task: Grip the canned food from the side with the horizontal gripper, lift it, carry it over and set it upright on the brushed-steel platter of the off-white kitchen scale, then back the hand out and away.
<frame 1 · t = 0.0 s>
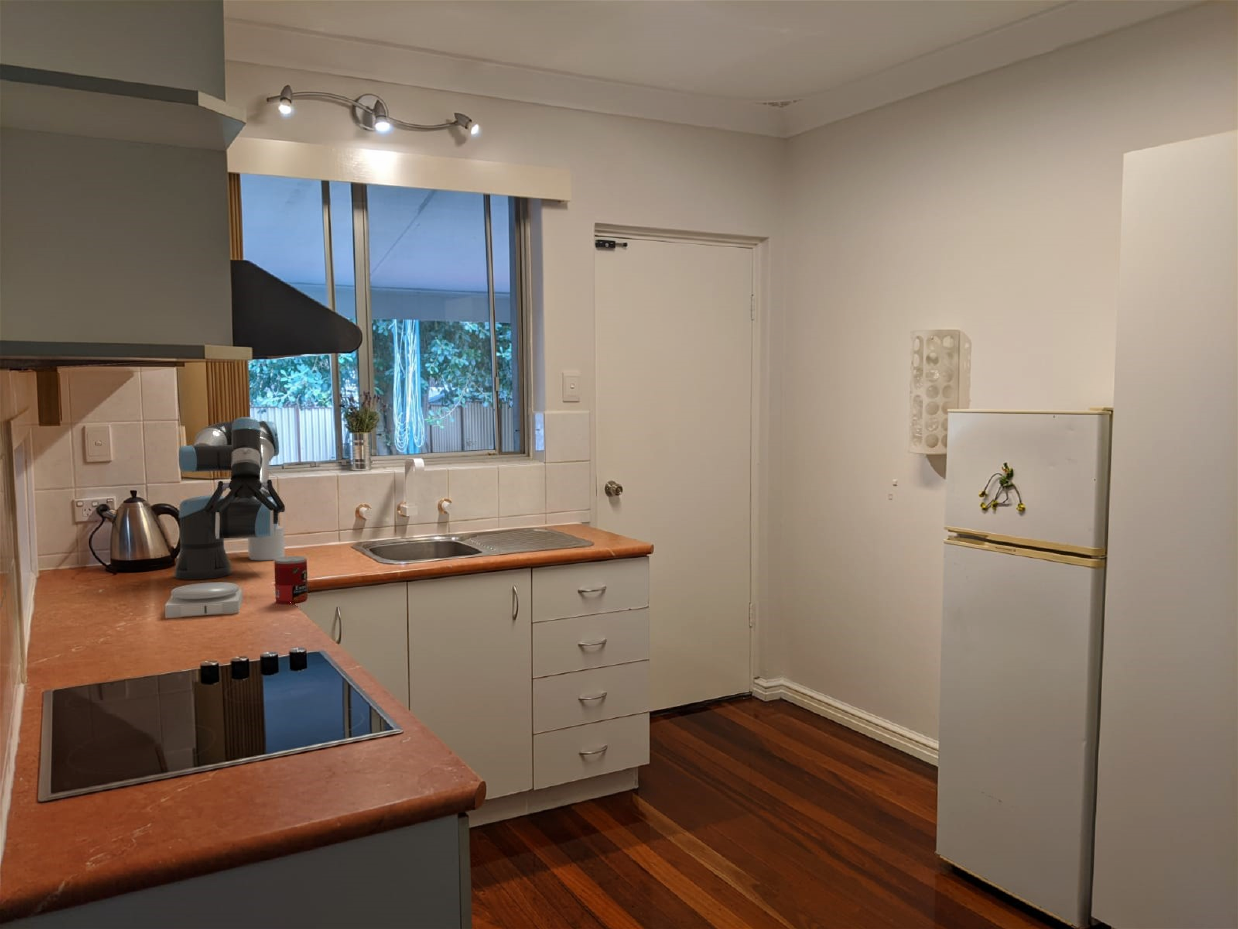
hand: (244, 535, 247), 15 cm above the counter, tool tilted 35°, fingers open, 13 cm apart
toilet tissue: (265, 558, 301), on the counter
canned food: (291, 602, 237), on the counter
kitchen scale: (205, 608, 228), on the counter
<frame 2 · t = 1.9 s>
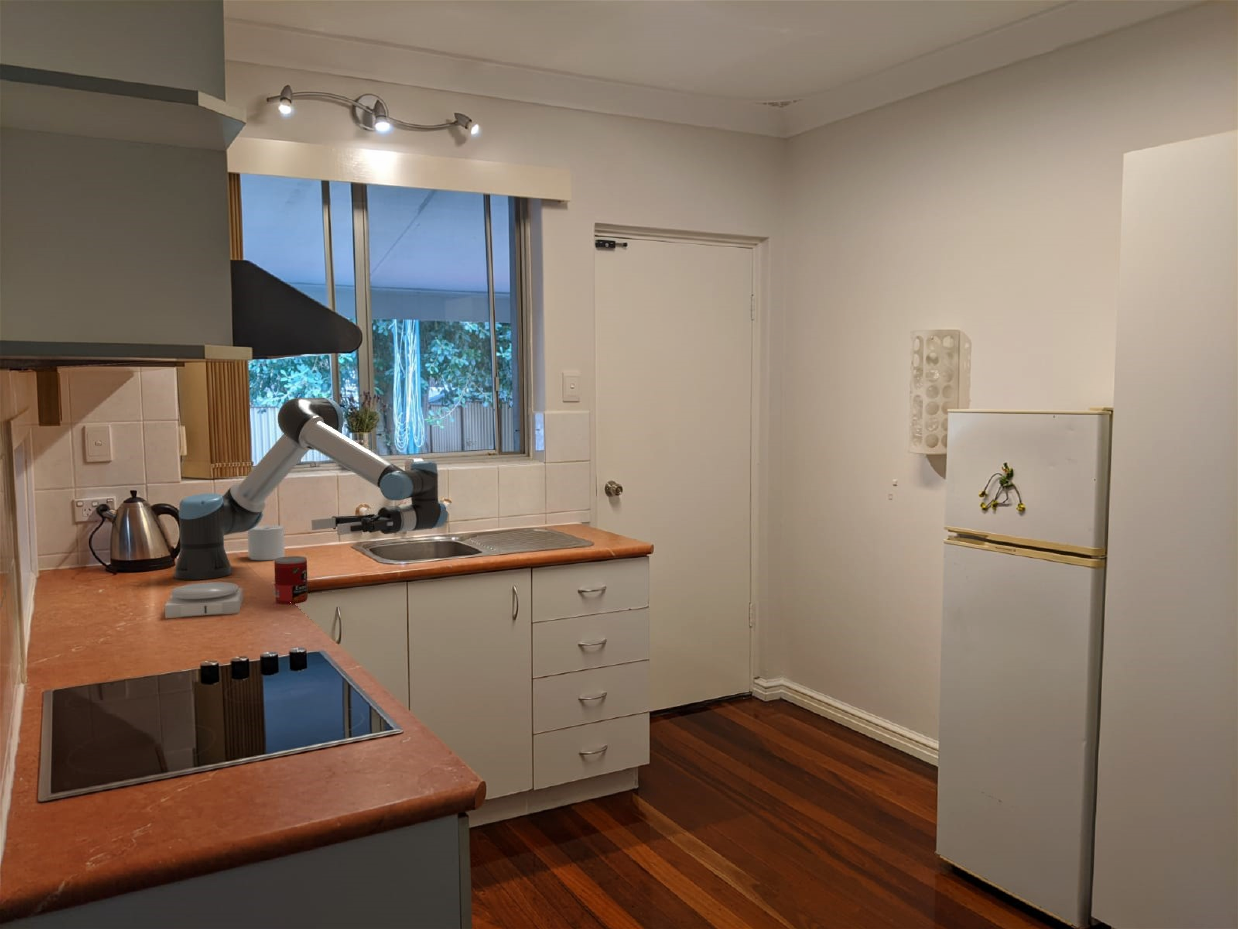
hand: (324, 527, 242), 18 cm above the counter, tool horizontal, fingers open, 13 cm apart
nothing on the counter moved.
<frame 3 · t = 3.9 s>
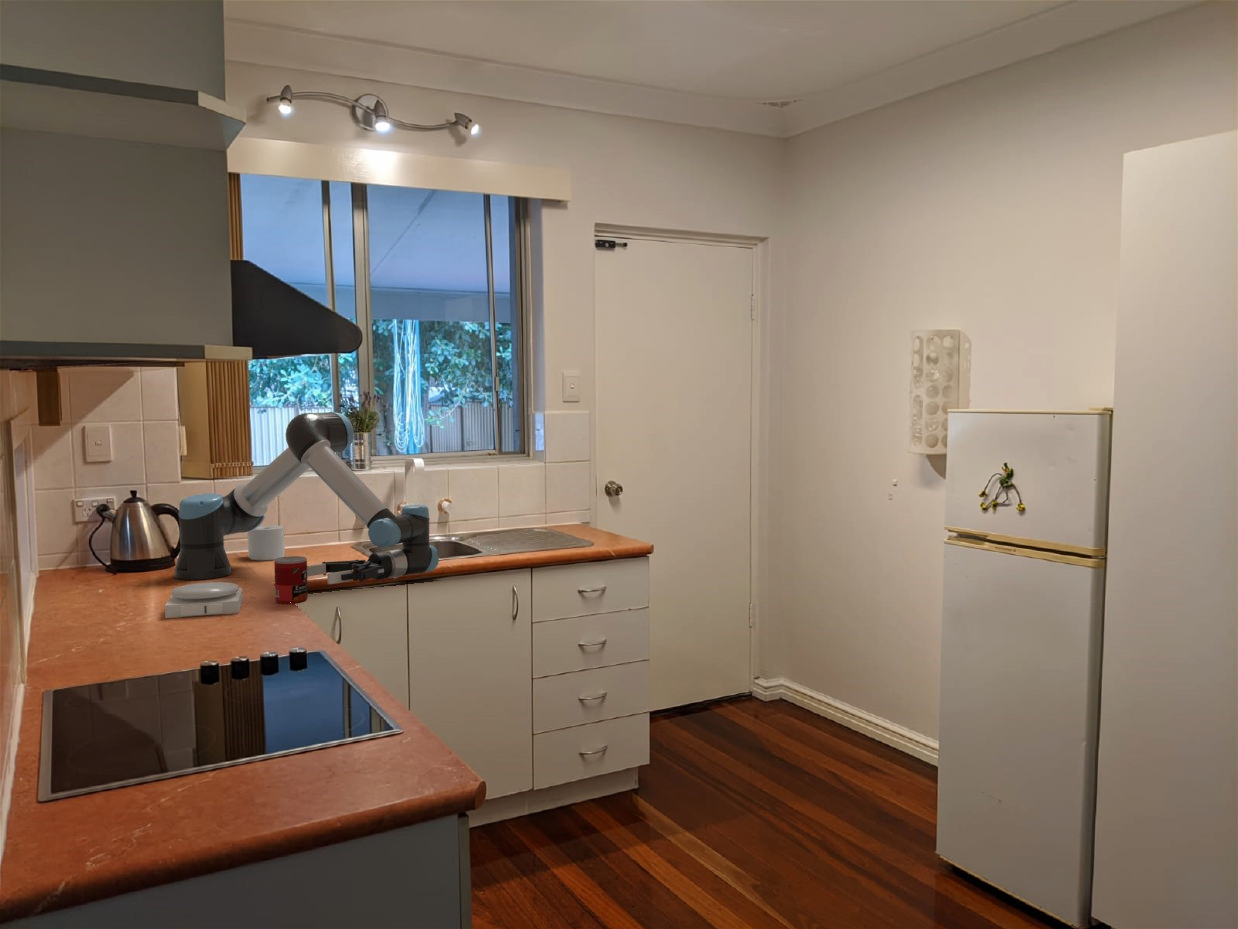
hand: (314, 575, 240), 6 cm above the counter, tool horizontal, fingers open, 13 cm apart
nothing on the counter moved.
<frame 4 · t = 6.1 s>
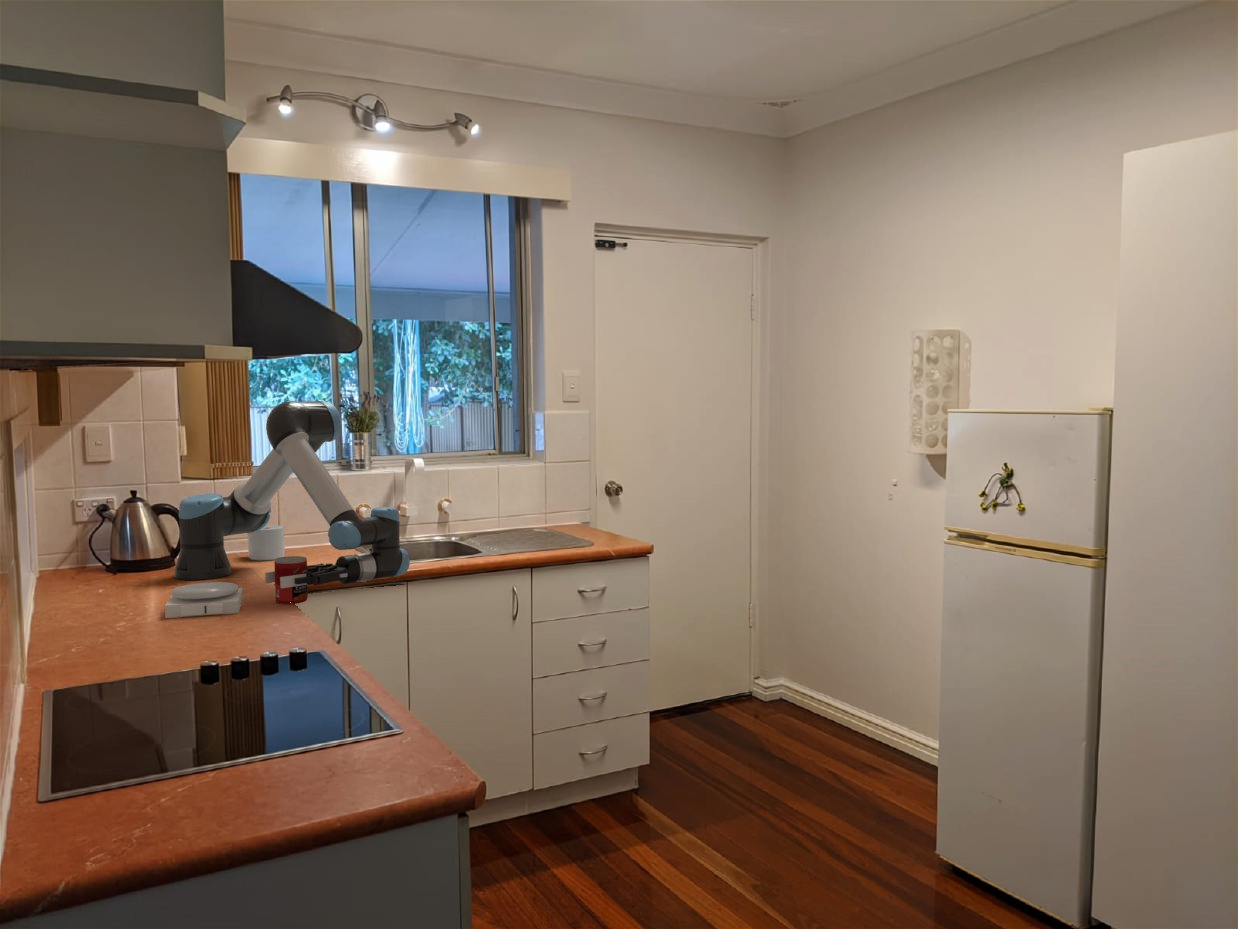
hand: (273, 580, 233), 6 cm above the counter, tool horizontal, fingers closed on canned food, 8 cm apart
canned food: (291, 601, 237), on the counter, touching gripper
everything else where it was.
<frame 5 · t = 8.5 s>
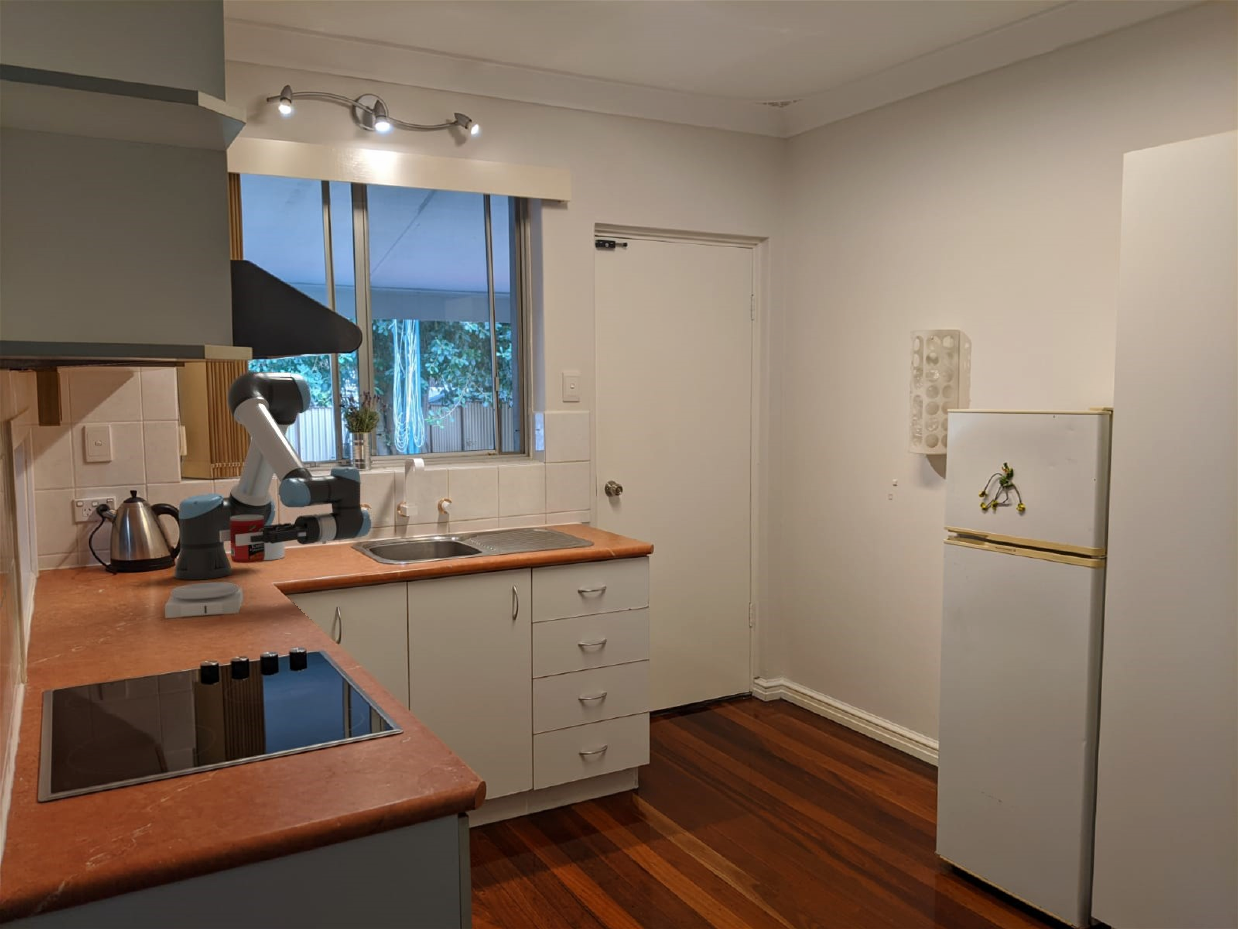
hand: (228, 538, 226), 18 cm above the counter, tool horizontal, fingers closed on canned food, 8 cm apart
canned food: (248, 561, 230), point 11 cm above the counter, touching gripper
everything else where it was.
when the fingers open (12 cm above the counter, at t = 10.8 s): canned food drops 1 cm, resting on kitchen scale.
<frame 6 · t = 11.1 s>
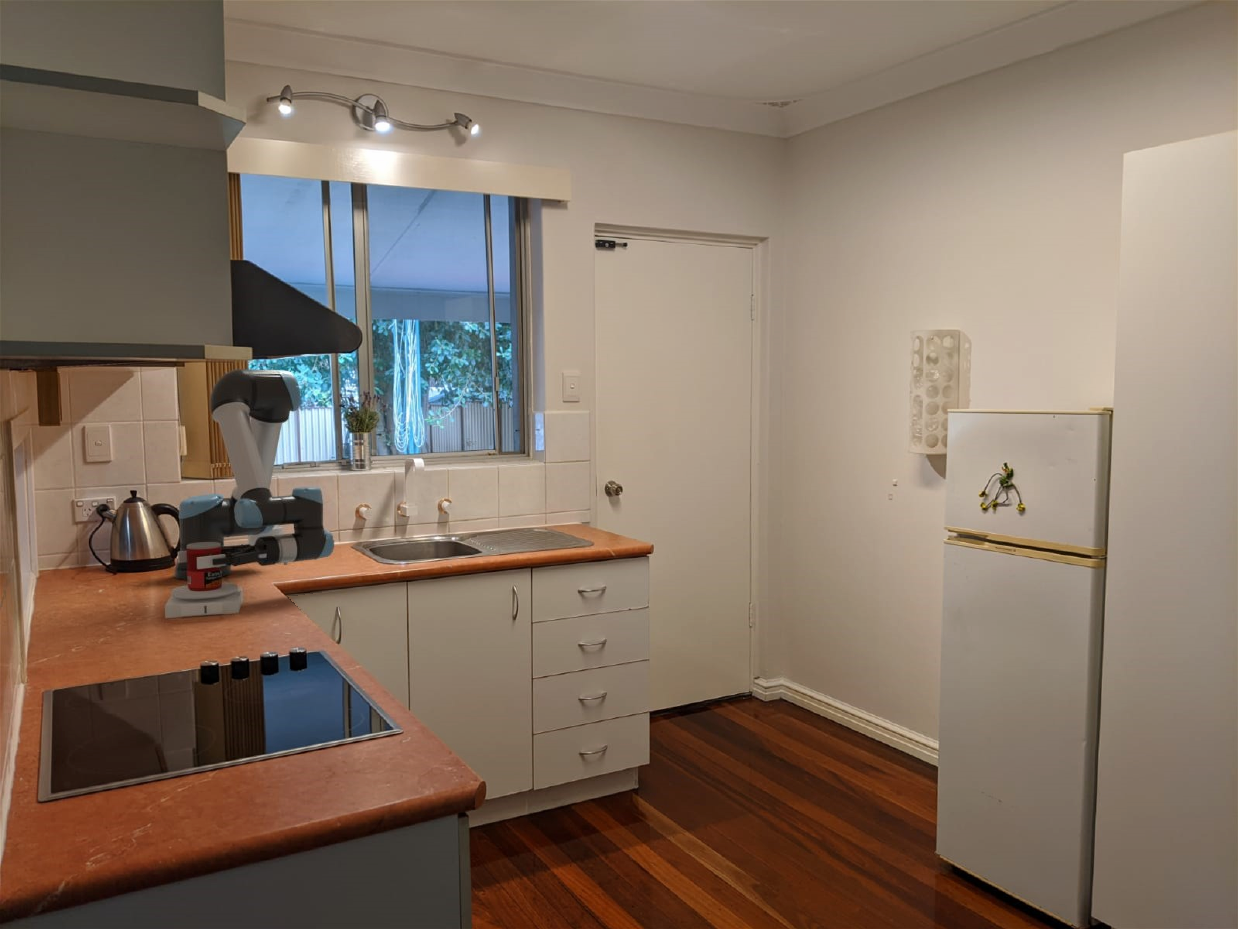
hand: (187, 560, 225), 12 cm above the counter, tool horizontal, fingers open, 11 cm apart
canned food: (205, 589, 228), point 5 cm above the counter, touching kitchen scale
everything else where it was.
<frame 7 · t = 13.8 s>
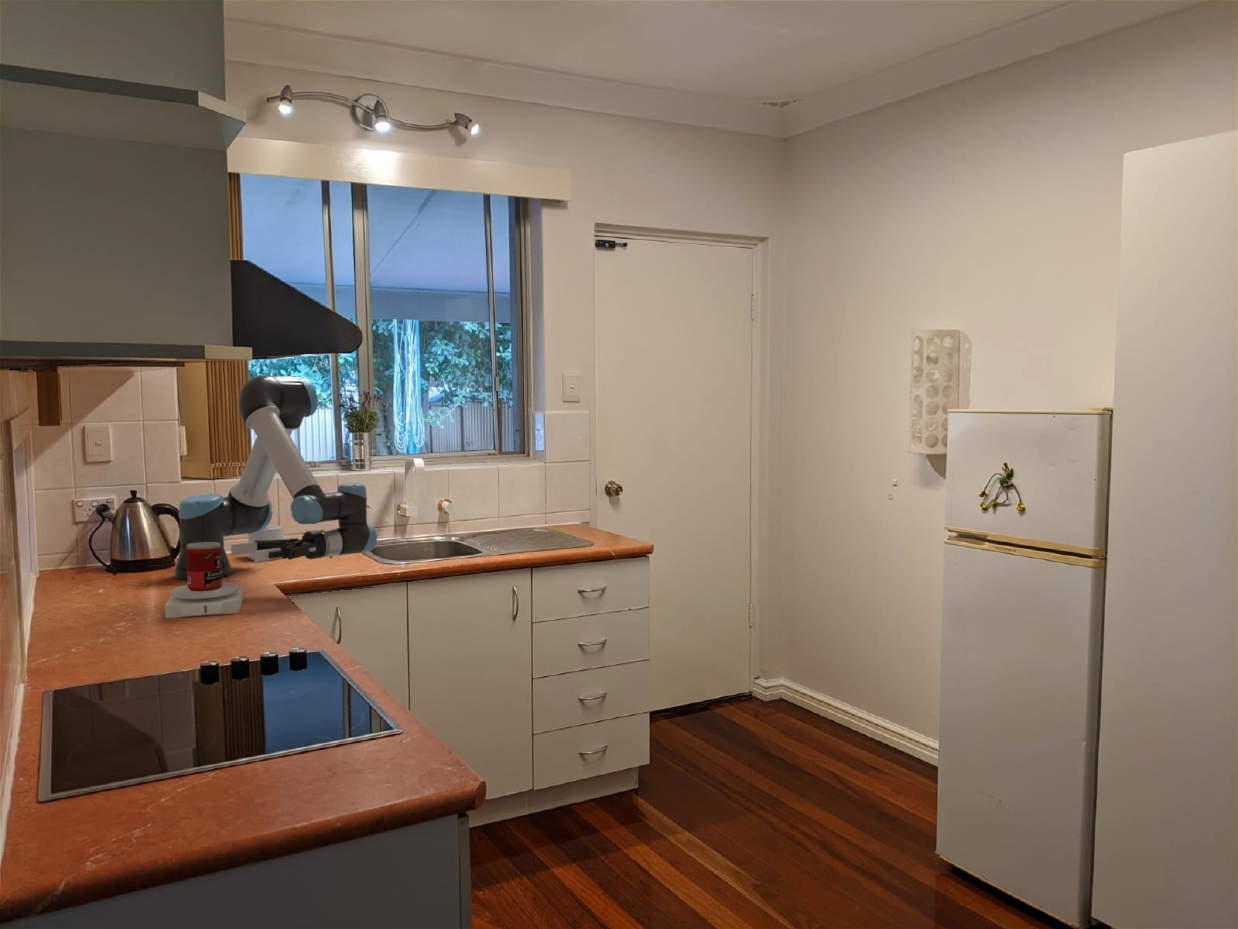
hand: (242, 553, 234), 13 cm above the counter, tool horizontal, fingers open, 13 cm apart
nothing on the counter moved.
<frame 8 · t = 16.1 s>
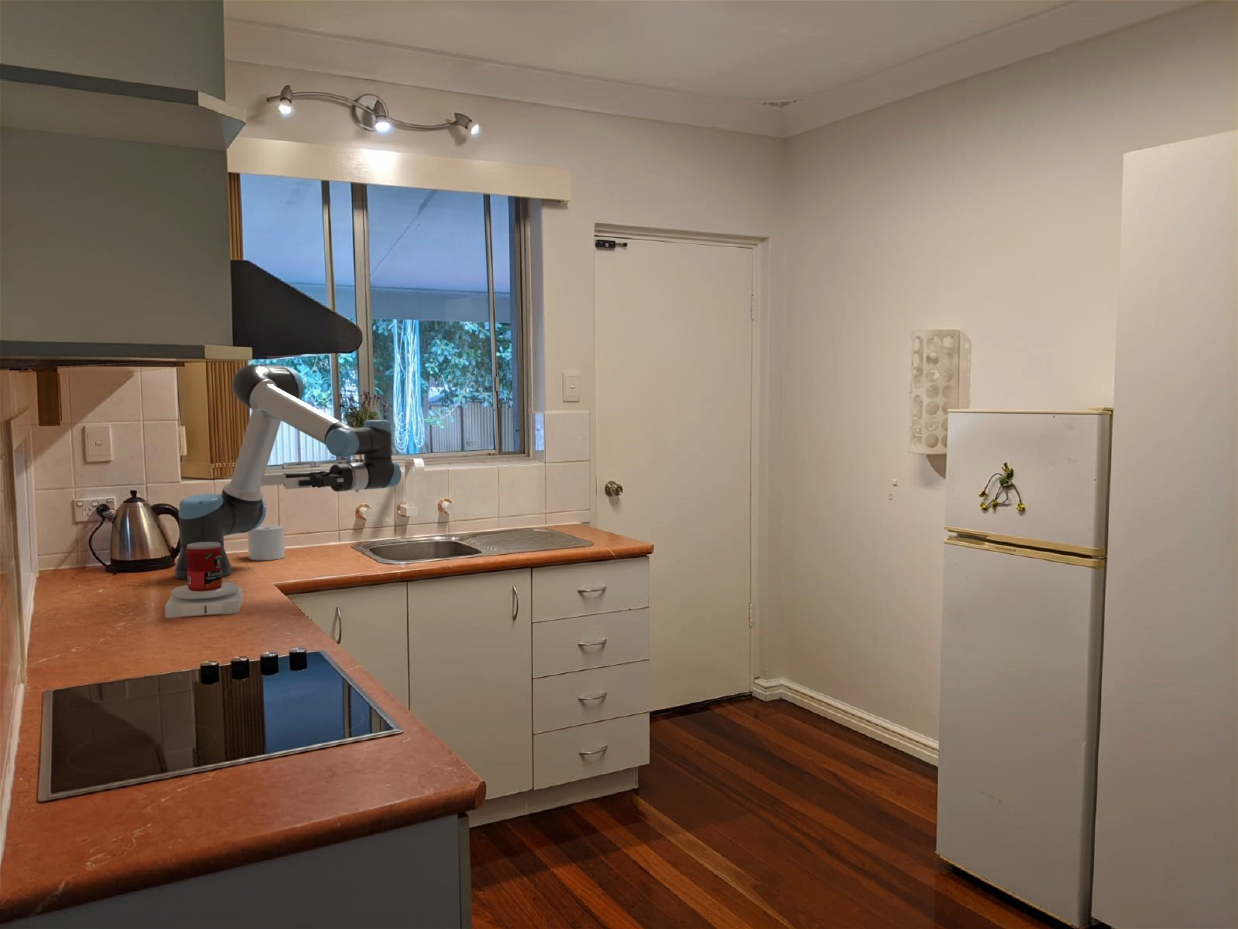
hand: (273, 482, 240), 30 cm above the counter, tool horizontal, fingers open, 13 cm apart
nothing on the counter moved.
at the end: canned food inside the target area on the kitchen scale (0.0 cm from its centre), point 4.8 cm above the kitchen scale's base; canned food tilted 0°; the gripper is holding nothing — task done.
